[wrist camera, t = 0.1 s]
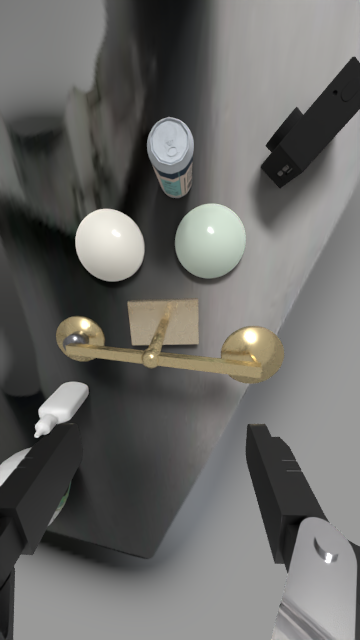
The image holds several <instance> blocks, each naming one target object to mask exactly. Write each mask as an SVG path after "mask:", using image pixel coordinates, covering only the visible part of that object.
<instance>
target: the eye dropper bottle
mask: <svg viewBox="0 0 360 640" xmlns="http://www.w3.org/2000/svg"><path fill="white" fill-rule="evenodd" d="M88 394H89V389H88V386H87V385H86V384H83V383H80V382H67V383H64V384H62V385H61V386H60V387H59V388H58V389H57V390H56V391H55V392H54V393H53V394H52V395H51V396H50V397H49V398H48V399H47V400H46V401H45V403H44V404H43V405H42V406H41V407H40V408H39V417H40V418H41V419H40V420H39V422H38V423H37V424H36V425H35V429H36V433H35V435H34V436H35V437H36V438H38V437H39V436H40V435H42V434H43V435H46V434H48V433H49V432H50V431H51V430H52V429H53V427H54V426H55V425H56V424H59V423H63V422H66V421H68V420H70V419H71V418H72V417H73V416H74V414H75V413H76V411H77V410H78V409H79V407H80V406H81V405H82V403H83V402H84V400H85V399H86V398H87V396H88Z"/></svg>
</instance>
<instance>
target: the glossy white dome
mask: <svg viewBox="0 0 360 640" xmlns="http://www.w3.org/2000/svg"><path fill="white" fill-rule="evenodd" d="M76 250H77V254H78V257H79V259H80V261H81V263H82V264H83V266H84V267H85V268H86V269H87V270H88V271H89V272H90V273H91V274H92V275H94V276H95V277H97V278H99V279H102V280H105V281H120V280H124V279H126V278H128V277H130V276H132V275H133V274H134V273H135V272H136V271H137V270H138V269H139V268H140V266H141V264H142V262H143V260H144V256H145V242H144V238H143V235H142V232H141V230H140V229H139V227H138V226H137V224H136V223H135V222H134V221H133V220H132V219H131V218H130V217H128V216H127V215H125V214H123V213H121V212H119V211H117V210H113V209H100V210H96V211H94V212H92V213H90V214H89V215H87V216H86V217H85V218H84V219H83V221H82V222H81V223H80V225H79V227H78V230H77V233H76Z"/></svg>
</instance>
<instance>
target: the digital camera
mask: <svg viewBox="0 0 360 640" xmlns="http://www.w3.org/2000/svg"><path fill="white" fill-rule="evenodd" d="M359 109H360V63H359V61H358V60H357V59H356V57H352V58H351V59H350V61H349V62H348V63H347V64H346V65H345V67H344V68H343V69H342V70H341V71H340V72H339V74H338V75H337V76H336V77H335V78H334V80H333V81H332V82H331V83H330V84H329V85H328V87H327V88H326V89H325V90H324V91H323V93H322V94H321V95H320V96H319V97H318V98H317V100H316V101H315V102H314V103H313V104H312V106H311V107H310V108H309V109H308V110H307V111H306V113H305V114H304V115H303V114H302V113H301V111H300V110H299V109H298V108H297V107H296V108H295V109H294V110H293V112H292V113H291V114H290V115H289V116H288V118H287V119H286V120H285V121H284V122H283V124H282V125H281V126H280V127H279V129H278V130H277V131H276V132H275V134H274V135H273V136H272V138H271V139H270V140H269V141H268V143H267V144H266V147H267V148H268V149H269V150H270V151H271V152H272V153H271V154H270V155H269V157H268V158H267V159H266V160H265V162H264V163H263V164H262V165H261V168H262V169H263V170H264V171H265V173H266V174H267V175H268V176H269V177H270V178H271V179H272V180H273V181H274V182H275V184H276V185H277V186H278V187H279V188H281V187H282V186H284V185H285V184H286V183H288V182H289V181H291V180H292V179H293V178H295V177H296V176H298V175H299V174H300V173H302V172H303V171H304V170H305V169H306V168H307V166H308V165H309V164H310V163H311V162H312V161H313V160H314V159H315V158H316V157H317V155H318V154H319V153H320V152H321V151H322V150H323V149H324V148H325V147H326V146H327V144H328V143H329V142H330V141H331V140H332V139H333V138H334V137H335V136H336V135H337V133H338V132H339V131H340V130H341V129H342V128H343V127H344V126H345V125H346V124H347V122H348V121H349V120H350V119H351V118H352V117H353V116H354V115H355V114H356V113H357V111H358V110H359Z"/></svg>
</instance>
